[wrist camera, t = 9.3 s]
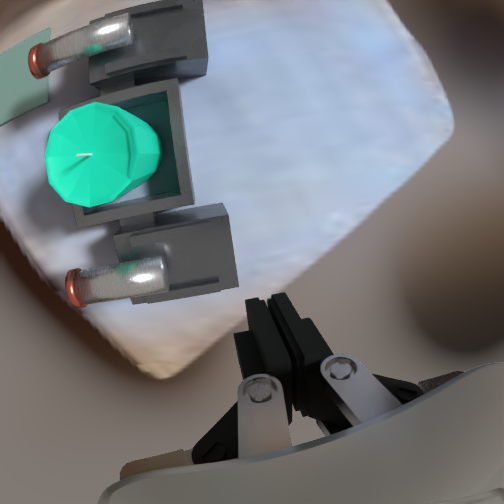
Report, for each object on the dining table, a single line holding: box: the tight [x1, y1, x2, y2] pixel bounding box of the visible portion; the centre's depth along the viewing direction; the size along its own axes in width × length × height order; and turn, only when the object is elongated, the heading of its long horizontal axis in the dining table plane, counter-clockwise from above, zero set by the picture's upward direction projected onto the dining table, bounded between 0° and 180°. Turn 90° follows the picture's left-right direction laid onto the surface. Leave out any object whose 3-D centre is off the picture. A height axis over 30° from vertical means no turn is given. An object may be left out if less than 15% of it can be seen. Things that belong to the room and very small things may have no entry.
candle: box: [45, 102, 163, 207], centre depth 17 cm, size 6×6×12 cm
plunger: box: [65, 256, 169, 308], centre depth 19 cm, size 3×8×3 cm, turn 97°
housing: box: [59, 0, 239, 305], centre depth 20 cm, size 24×13×6 cm, turn 7°
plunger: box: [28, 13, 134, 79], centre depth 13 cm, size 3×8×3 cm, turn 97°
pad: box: [0, 28, 51, 126], centre depth 16 cm, size 9×9×1 cm
